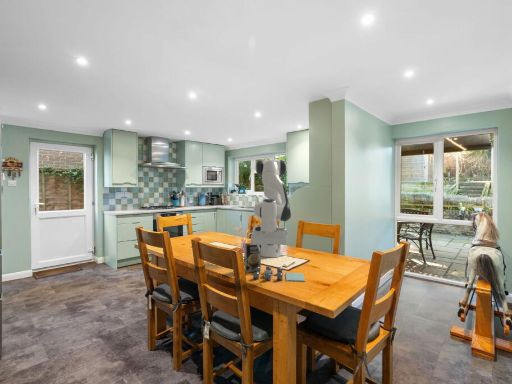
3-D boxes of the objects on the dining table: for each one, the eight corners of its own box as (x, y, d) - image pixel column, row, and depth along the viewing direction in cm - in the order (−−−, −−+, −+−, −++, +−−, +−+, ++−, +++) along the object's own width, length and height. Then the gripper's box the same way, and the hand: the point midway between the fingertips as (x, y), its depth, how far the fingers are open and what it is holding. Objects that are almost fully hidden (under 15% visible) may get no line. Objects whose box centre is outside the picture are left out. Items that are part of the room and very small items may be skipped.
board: (285, 273, 154) (285, 272, 154) (302, 274, 153) (302, 273, 153) (286, 280, 142) (286, 279, 142) (305, 281, 141) (305, 280, 141)
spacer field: (255, 271, 157) (255, 265, 157) (282, 272, 155) (282, 266, 155) (252, 280, 142) (252, 274, 142) (282, 281, 140) (282, 275, 140)
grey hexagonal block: (264, 274, 152) (264, 269, 152) (272, 275, 151) (272, 270, 151) (263, 278, 146) (263, 272, 146) (272, 278, 145) (272, 273, 145)
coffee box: (246, 272, 155) (246, 245, 155) (243, 269, 161) (244, 243, 161) (261, 271, 157) (261, 244, 157) (258, 268, 164) (258, 242, 163)
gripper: (287, 227, 150) (286, 251, 150) (251, 226, 152) (251, 250, 152) (287, 228, 144) (287, 254, 144) (250, 227, 146) (250, 252, 146)
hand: (268, 252), depth 148 cm, fingers open, 8 cm apart
